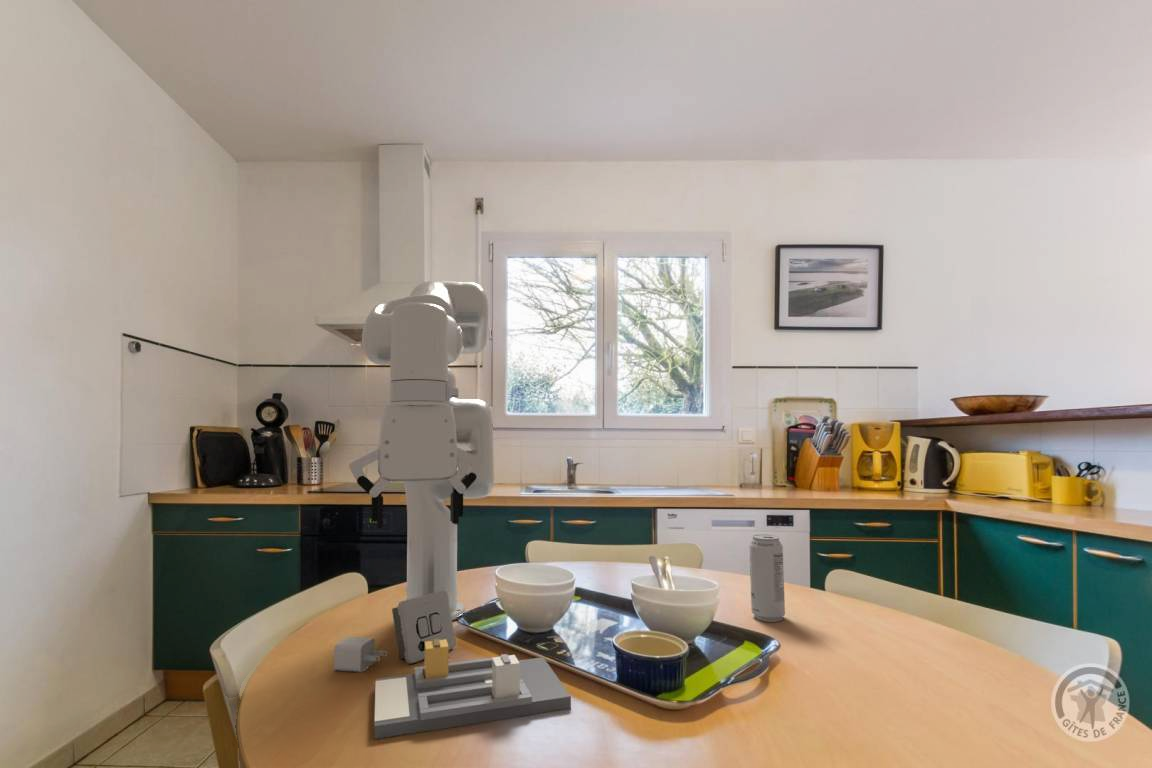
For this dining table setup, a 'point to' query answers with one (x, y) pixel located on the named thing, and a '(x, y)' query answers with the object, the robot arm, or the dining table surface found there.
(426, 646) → the yellow block with tab
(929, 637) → the dining table surface
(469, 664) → the switch board
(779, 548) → the energy drink can
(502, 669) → the white tab
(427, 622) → the electrical switch
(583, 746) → the dining table surface
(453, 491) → the robot arm
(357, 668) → the usb wall charger
